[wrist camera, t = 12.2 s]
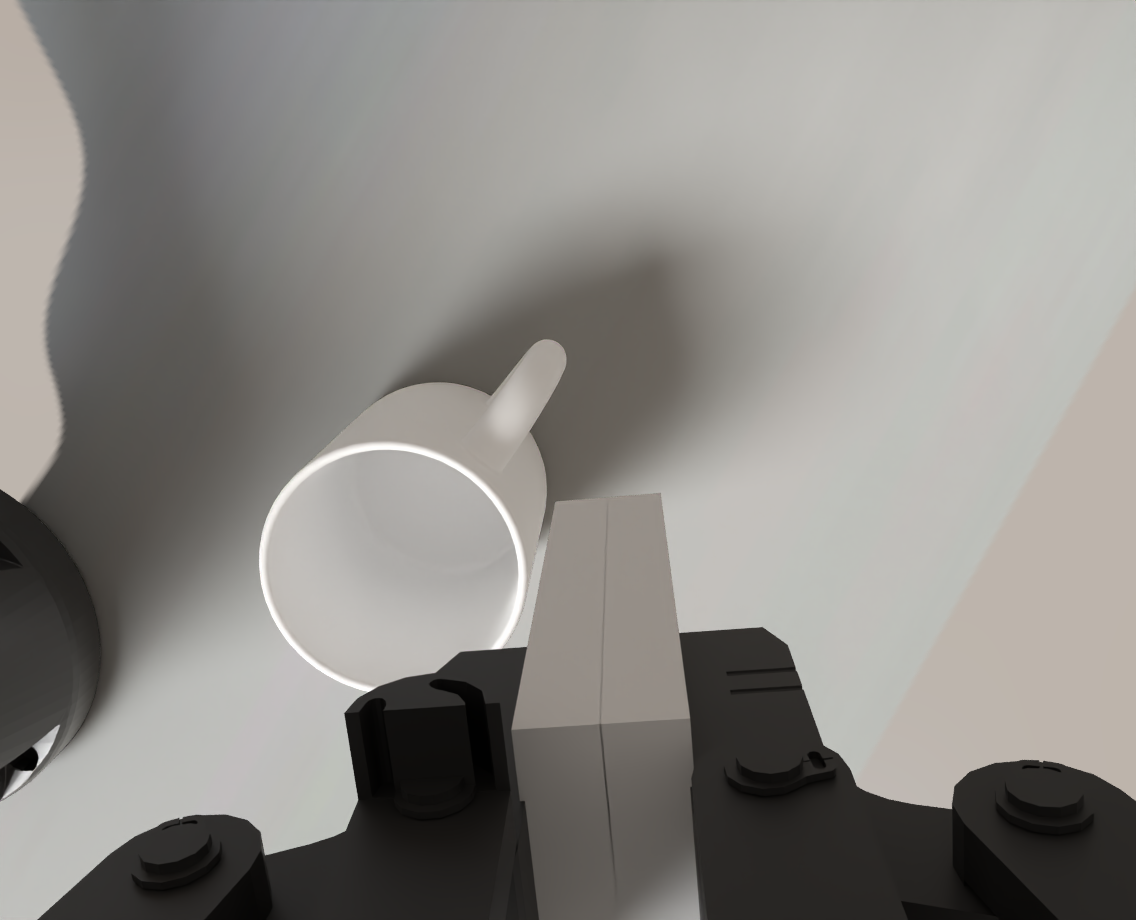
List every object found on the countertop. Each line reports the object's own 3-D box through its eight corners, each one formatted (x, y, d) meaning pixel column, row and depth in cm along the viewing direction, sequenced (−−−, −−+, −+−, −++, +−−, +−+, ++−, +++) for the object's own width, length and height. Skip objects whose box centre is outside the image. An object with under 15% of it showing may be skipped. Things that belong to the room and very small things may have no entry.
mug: (483, 256, 41) (438, 283, 31) (653, 393, 42) (663, 463, 32) (300, 494, 43) (205, 589, 33) (464, 617, 44) (420, 745, 34)
